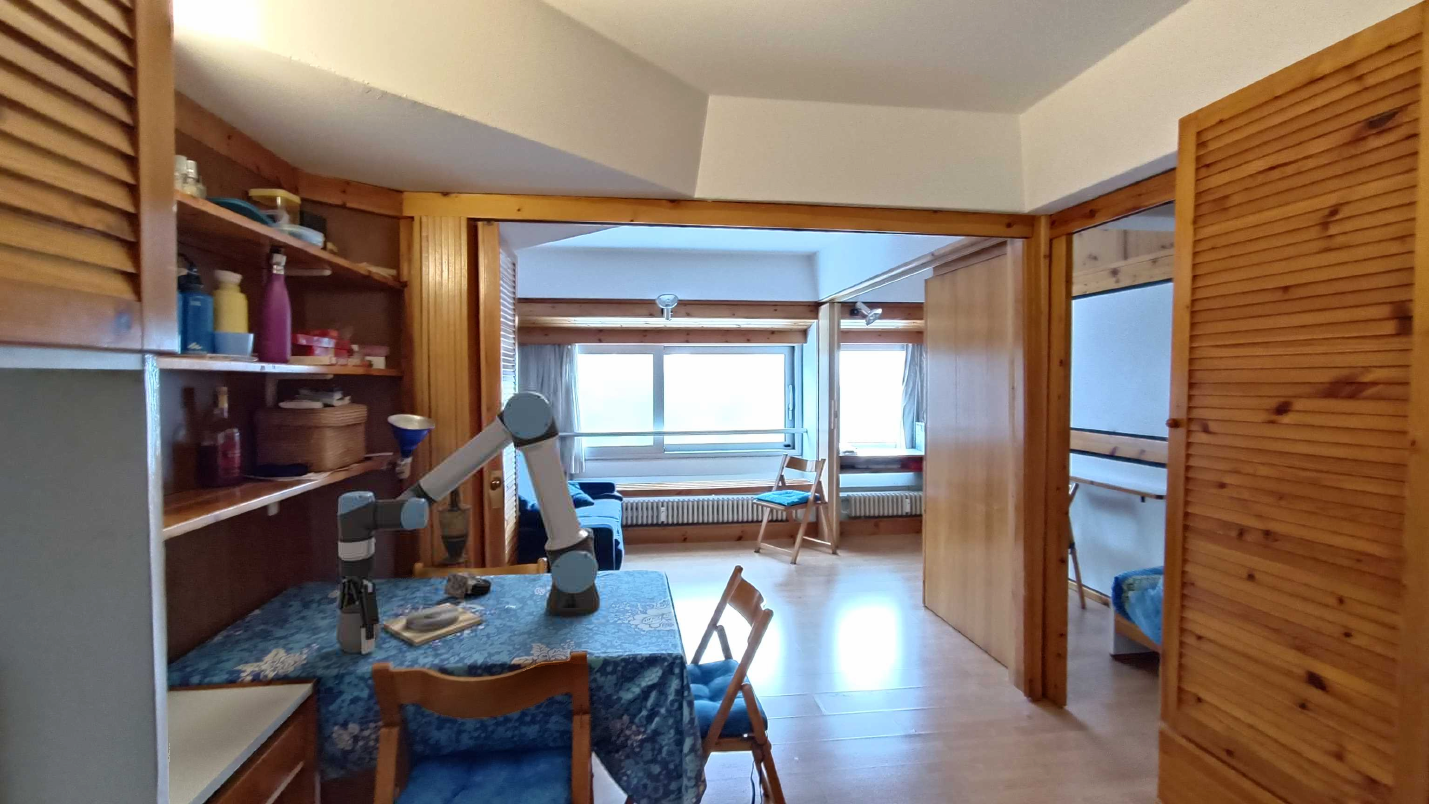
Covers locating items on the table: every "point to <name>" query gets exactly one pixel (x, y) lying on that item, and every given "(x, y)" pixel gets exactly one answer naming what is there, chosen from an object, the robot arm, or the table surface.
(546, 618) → the table surface
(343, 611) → the cup
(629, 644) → the table surface
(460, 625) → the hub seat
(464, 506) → the vase
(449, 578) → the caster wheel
